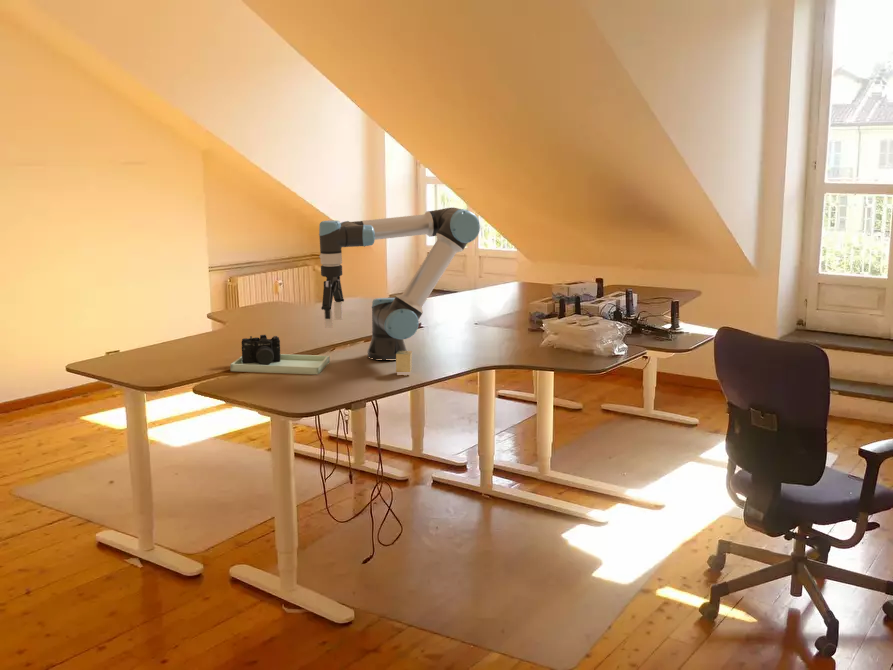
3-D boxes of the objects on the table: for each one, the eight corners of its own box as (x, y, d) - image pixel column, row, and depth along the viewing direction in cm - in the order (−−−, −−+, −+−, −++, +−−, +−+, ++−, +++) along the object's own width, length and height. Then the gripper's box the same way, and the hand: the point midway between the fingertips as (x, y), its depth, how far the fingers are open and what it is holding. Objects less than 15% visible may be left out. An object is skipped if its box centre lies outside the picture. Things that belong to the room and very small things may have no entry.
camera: (242, 368, 317) (241, 340, 315) (242, 361, 327) (241, 334, 325) (281, 366, 320) (280, 339, 318) (280, 359, 330) (279, 333, 328)
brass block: (398, 372, 318) (398, 350, 316) (411, 372, 318) (412, 351, 316) (396, 375, 313) (396, 353, 312) (410, 376, 313) (410, 354, 311)
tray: (246, 359, 334) (246, 352, 333) (329, 362, 331) (329, 355, 330) (230, 371, 316) (230, 364, 315) (318, 374, 313) (318, 367, 313)
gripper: (330, 259, 324) (332, 316, 329) (311, 269, 300) (314, 330, 305) (350, 259, 323) (352, 316, 328) (332, 270, 299) (335, 331, 304)
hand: (333, 323), depth 316 cm, fingers open, 13 cm apart
